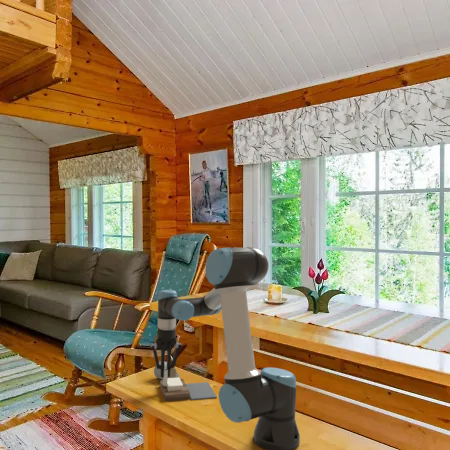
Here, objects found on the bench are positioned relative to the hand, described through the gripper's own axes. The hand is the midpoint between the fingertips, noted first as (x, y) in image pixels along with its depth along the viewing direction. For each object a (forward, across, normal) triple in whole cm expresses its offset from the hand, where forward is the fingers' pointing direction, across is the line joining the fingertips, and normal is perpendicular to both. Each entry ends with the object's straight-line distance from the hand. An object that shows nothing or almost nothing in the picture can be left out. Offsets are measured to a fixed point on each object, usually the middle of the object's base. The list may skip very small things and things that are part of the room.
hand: (165, 384), depth 183 cm
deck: (+4, -4, 0) cm, 5 cm away
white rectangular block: (+1, -4, 0) cm, 4 cm away
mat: (+4, -15, +1) cm, 15 cm away
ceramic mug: (+4, -4, -16) cm, 17 cm away
